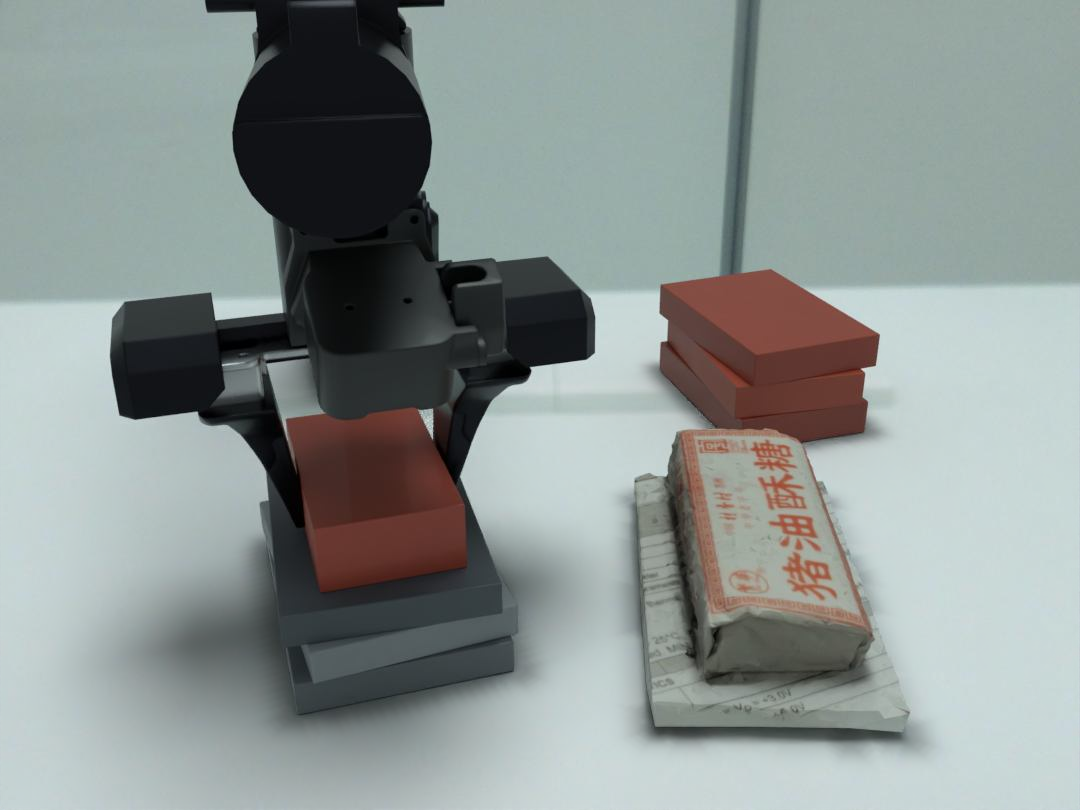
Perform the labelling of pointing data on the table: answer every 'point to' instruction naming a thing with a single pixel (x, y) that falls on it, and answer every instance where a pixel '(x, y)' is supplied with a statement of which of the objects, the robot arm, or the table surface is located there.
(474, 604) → the grey book pile
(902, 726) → the packaged product
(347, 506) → the rust red block
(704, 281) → the rust book pile
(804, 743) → the table surface
